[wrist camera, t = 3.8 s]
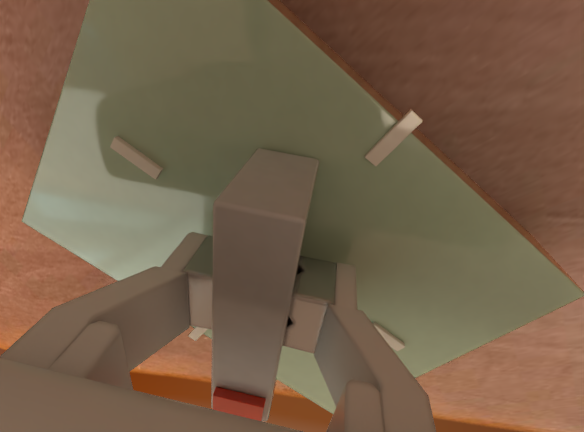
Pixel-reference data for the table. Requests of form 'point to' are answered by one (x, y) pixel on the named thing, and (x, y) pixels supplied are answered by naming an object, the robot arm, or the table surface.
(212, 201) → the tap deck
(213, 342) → the red-button grey box
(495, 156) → the table surface
